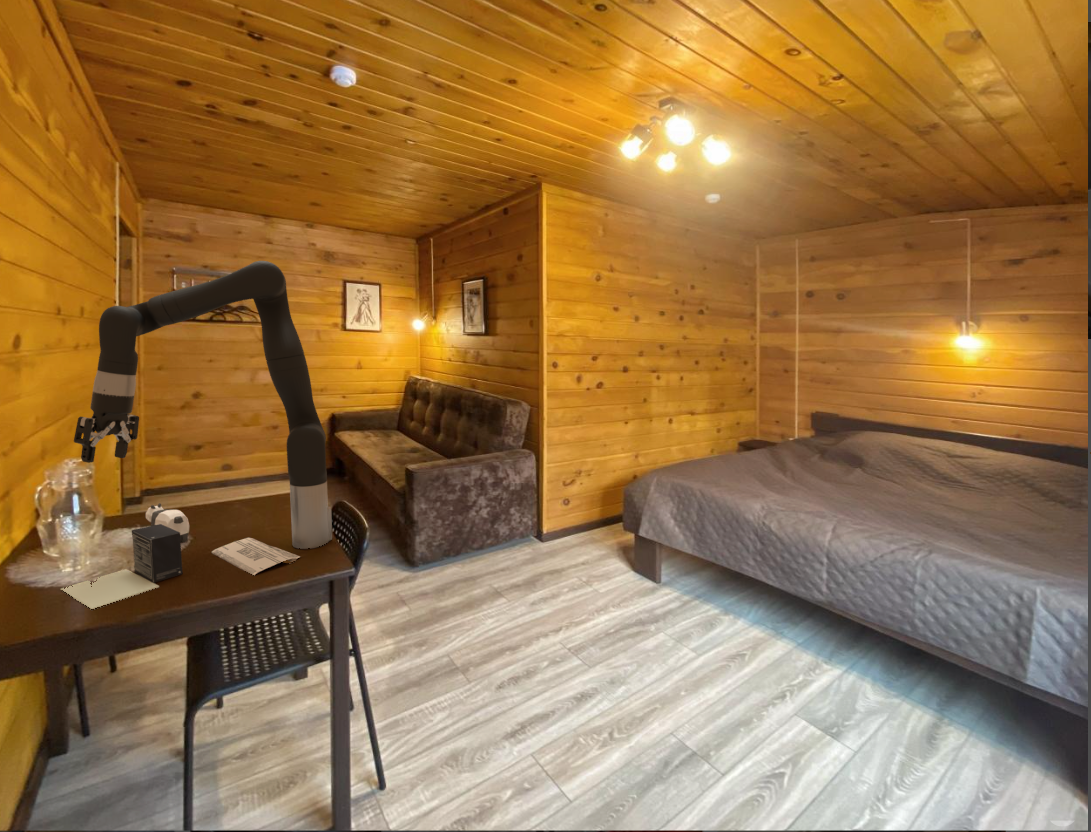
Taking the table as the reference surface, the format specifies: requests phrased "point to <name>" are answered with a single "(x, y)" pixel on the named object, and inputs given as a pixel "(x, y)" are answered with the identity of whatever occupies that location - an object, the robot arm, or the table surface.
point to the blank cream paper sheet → (109, 588)
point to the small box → (157, 552)
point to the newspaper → (252, 555)
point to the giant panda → (169, 520)
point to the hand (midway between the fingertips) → (104, 459)
